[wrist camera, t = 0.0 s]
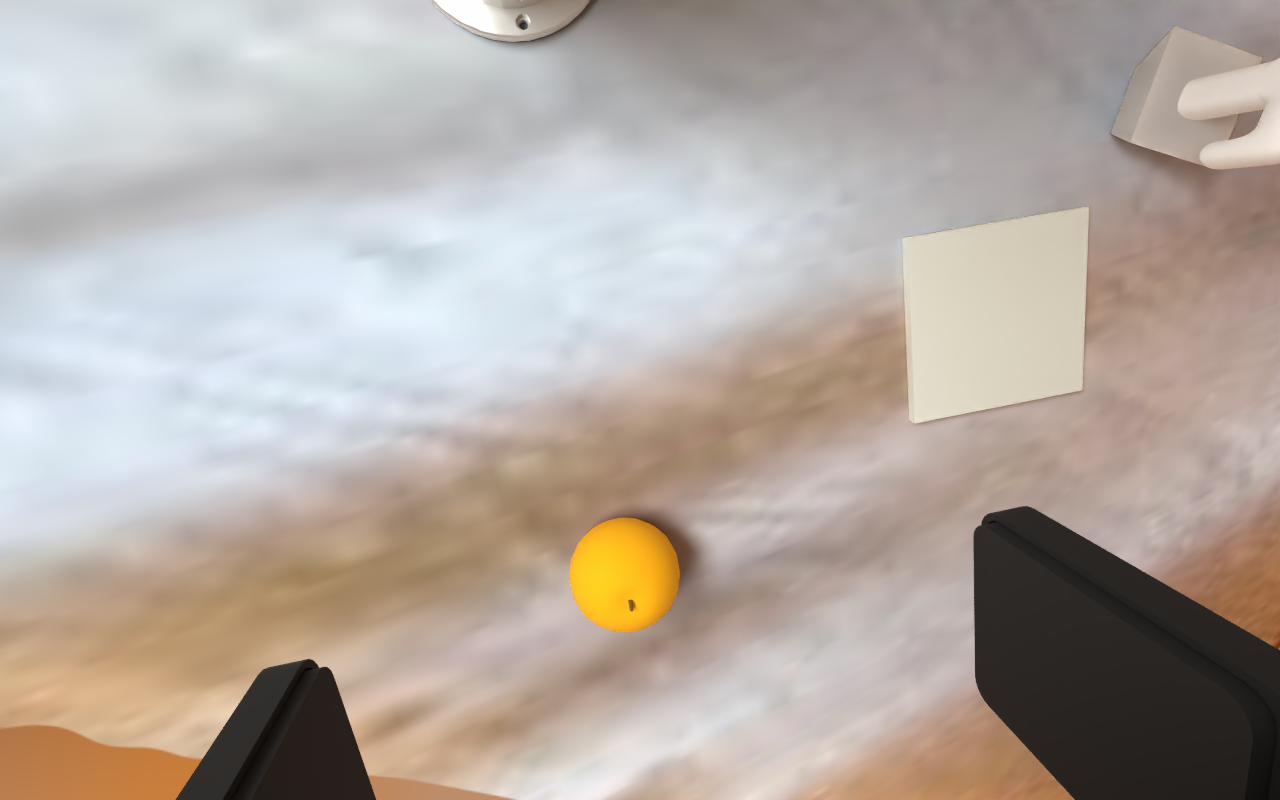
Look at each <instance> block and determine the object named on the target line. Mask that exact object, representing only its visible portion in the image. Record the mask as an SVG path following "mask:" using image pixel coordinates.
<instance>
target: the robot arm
mask: <svg viewBox="0 0 1280 800" xmlns="http://www.w3.org/2000/svg"><path fill="white" fill-rule="evenodd" d="M430 2H431V3H432V4H433V5H434V6H435V7H436V8H437V9H438V10H439V11H440V12H442V13H443V14H444V15H445V16H446V17H448V18H449V19H450V20H451V21H452V22H454V23H456V24H457V25H459V26H461V27H463V28H464V29H466V30H468V31H470V32H472V33H474V34H477V35H480V36H483V37H486V38H489V39H492V40H500V41H508V42H517V41H530V40H534V39H537V38H541V37H544V36H547V35H550V34H552V33H554V32H556V31H557V30H559V29H561V28H563V27H564V26H566V25H568V24H569V23H570V22H571V21H572V20H573V19H574V18H576V17H577V16H578V15H579V14H580V13H581V12H582V11H583V10H584V8H585V7H586V6H587V4H588V3H589V2H590V0H430ZM522 22H524V23H526V24H527V25H528V28H527V29H525V30H522V29H521V28H520V27H519V26H520V24H521V23H522ZM974 615H975V678H976V683H977V686H978V689H979V691H980V694H981V696H982V697H983V699H984V701H985V702H986V703H987V704H988V706H989V707H990V708H991V709H992V710H993V711H994V712H995V713H996V714H997V715H998V717H999V718H1000V719H1001V720H1002V721H1003V722H1004V723H1005V724H1006V725H1007V726H1008V727H1009V728H1010V730H1011V731H1012V732H1013V733H1014V734H1015V735H1016V736H1017V737H1018V738H1019V739H1020V740H1021V742H1022V743H1023V744H1024V745H1025V746H1026V747H1027V748H1028V749H1029V750H1030V751H1031V752H1032V753H1033V755H1034V756H1035V757H1036V758H1037V759H1038V760H1039V761H1040V762H1041V763H1042V764H1043V765H1044V767H1045V768H1046V769H1047V770H1048V771H1049V772H1050V773H1051V774H1052V775H1053V776H1054V777H1055V778H1056V780H1057V781H1058V782H1059V783H1060V784H1061V785H1062V786H1063V787H1064V788H1065V789H1066V790H1067V792H1068V793H1069V794H1070V795H1071V796H1072V797H1073V798H1074V799H1075V800H1280V650H1278V649H1276V648H1275V647H1273V646H1271V645H1270V644H1268V643H1266V642H1264V641H1263V640H1261V639H1259V638H1257V637H1256V636H1254V635H1252V634H1250V633H1249V632H1247V631H1245V630H1244V629H1242V628H1240V627H1238V626H1237V625H1235V624H1233V623H1231V622H1230V621H1228V620H1226V619H1224V618H1223V617H1221V616H1219V615H1217V614H1216V613H1214V612H1212V611H1211V610H1209V609H1207V608H1205V607H1204V606H1202V605H1200V604H1198V603H1197V602H1195V601H1193V600H1191V599H1190V598H1188V597H1186V596H1184V595H1183V594H1181V593H1179V592H1178V591H1176V590H1174V589H1172V588H1171V587H1169V586H1167V585H1165V584H1164V583H1162V582H1160V581H1158V580H1157V579H1155V578H1153V577H1152V576H1150V575H1148V574H1146V573H1145V572H1143V571H1141V570H1139V569H1138V568H1136V567H1134V566H1132V565H1131V564H1129V563H1127V562H1125V561H1124V560H1122V559H1120V558H1119V557H1117V556H1115V555H1113V554H1112V553H1110V552H1108V551H1106V550H1105V549H1103V548H1101V547H1099V546H1098V545H1096V544H1094V543H1092V542H1091V541H1089V540H1087V539H1086V538H1084V537H1082V536H1080V535H1079V534H1077V533H1075V532H1073V531H1072V530H1070V529H1068V528H1066V527H1065V526H1063V525H1061V524H1060V523H1058V522H1056V521H1054V520H1053V519H1051V518H1049V517H1047V516H1046V515H1044V514H1042V513H1040V512H1039V511H1037V510H1035V509H1033V508H1031V507H1028V506H1023V507H1017V508H1013V509H1008V510H1003V511H999V512H994V513H989V514H987V515H986V516H985V517H984V518H983V521H982V525H981V526H978V527H977V528H976V529H975V531H974ZM176 800H376V798H375V795H374V792H373V789H372V786H371V784H370V781H369V778H368V775H367V772H366V769H365V766H364V763H363V760H362V757H361V754H360V751H359V749H358V746H357V743H356V740H355V737H354V734H353V731H352V728H351V725H350V722H349V719H348V717H347V714H346V711H345V708H344V705H343V702H342V699H341V696H340V693H339V690H338V687H337V685H336V682H335V679H334V676H333V674H332V672H331V670H330V669H329V668H328V667H322V668H319V667H318V665H317V664H316V663H315V662H314V661H313V660H311V659H306V660H302V661H297V662H292V663H288V664H283V665H278V666H274V667H269V668H266V669H264V670H262V671H261V672H260V674H259V675H258V676H257V678H256V679H255V681H254V682H253V684H252V685H251V687H250V688H249V690H248V691H247V693H246V694H245V696H244V697H243V699H242V700H241V702H240V703H239V705H238V706H237V708H236V709H235V711H234V712H233V714H232V715H231V717H230V718H229V720H228V721H227V723H226V724H225V726H224V727H223V729H222V730H221V732H220V733H219V735H218V736H217V738H216V739H215V741H214V742H213V744H212V745H211V747H210V749H209V750H208V752H207V753H206V755H205V756H204V758H203V759H202V761H201V762H200V764H199V765H198V767H197V768H196V770H195V771H194V773H193V774H192V776H191V777H190V779H189V780H188V782H187V783H186V785H185V786H184V788H183V789H182V791H181V792H180V794H179V795H178V797H177V798H176Z"/></svg>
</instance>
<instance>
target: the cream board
mask: <svg viewBox="0 0 1280 800" xmlns="http://www.w3.org/2000/svg"><path fill="white" fill-rule="evenodd" d="M1088 225H1089V207H1079V208H1073V209H1067V210H1062V211H1056V212H1050V213H1044V214H1038V215H1032V216H1027V217H1021V218H1015V219H1009V220H1003V221H997V222H992V223H986V224H980V225H974V226H968V227H962V228H956V229H951V230H945V231H939V232H933V233H927V234H921V235H916V236H910V237H904V238H902V253H903V277H904V302H905V326H906V351H907V376H908V400H909V421H911V422H913V423H920V422H925V421H930V420H935V419H940V418H945V417H950V416H955V415H960V414H965V413H970V412H975V411H981V410H986V409H991V408H996V407H1001V406H1006V405H1011V404H1016V403H1021V402H1026V401H1031V400H1036V399H1041V398H1046V397H1051V396H1056V395H1061V394H1066V393H1071V392H1076V391H1081V390H1082V383H1083V357H1084V330H1085V304H1086V278H1087V251H1088Z"/></svg>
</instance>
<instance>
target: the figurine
mask: <svg viewBox="0 0 1280 800" xmlns="http://www.w3.org/2000/svg"><path fill="white" fill-rule="evenodd" d="M1262 59H1263V58H1261V57H1259V56H1256V55H1253V54H1250V53H1248V52H1245V51H1242V50H1239V49H1237V48H1234V47H1231V46H1228V45H1226V44H1223V43H1220V42H1217V41H1215V40H1212V39H1209V38H1206V37H1204V36H1201V35H1198V34H1195V33H1193V32H1190V31H1187V30H1184V29H1182V28H1179V27H1176V26H1174V27H1173V28H1172V29H1171V30H1170V31H1169V32H1168V34H1167V35H1166V36H1165V37H1164V38H1163V39H1162V40H1161V41H1160V42H1159V43H1158V44H1157V46H1156V47H1155V48H1154V49H1153V50H1152V51H1151V52H1150V53H1149V54H1148V55H1147V57H1146V58H1145V59H1144V60H1143V61H1142V62H1141V63H1140V64H1139V65H1138V66H1137V67H1136V69H1135V70H1134V72H1133V74H1132V77H1131V80H1130V82H1129V85H1128V88H1127V91H1126V93H1125V96H1124V99H1123V101H1122V104H1121V107H1120V109H1119V112H1118V115H1117V117H1116V120H1115V123H1114V125H1113V128H1112V131H1111V133H1110V134H1112V135H1114V136H1116V137H1119V138H1121V139H1123V140H1125V141H1128V142H1130V143H1133V144H1136V145H1139V146H1142V147H1145V148H1149V149H1152V150H1155V151H1158V152H1161V153H1164V154H1167V155H1171V156H1174V157H1177V158H1180V159H1183V160H1186V161H1189V162H1193V163H1196V164H1199V165H1202V166H1205V167H1208V168H1211V169H1215V170H1217V169H1218V170H1223V169H1234V168H1245V167H1256V166H1266V165H1274V164H1280V58H1278V59H1276V60H1275V61H1271V62H1267V63H1263V64H1261V61H1262ZM1258 110H1263V113H1262V115H1261V118H1260V120H1259V122H1258V125H1257V127H1256V128H1255V129H1254V130H1253V131H1252V132H1250V133H1249V134H1247V135H1245V136H1242V137H1239V138H1235V139H1231V140H1229V139H1230V136H1231V134H1232V131H1233V129H1234V126H1235V124H1236V122H1237V119H1238V117H1239V114H1241V113H1246V112H1252V111H1258Z"/></svg>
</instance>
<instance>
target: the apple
mask: <svg viewBox="0 0 1280 800" xmlns="http://www.w3.org/2000/svg"><path fill="white" fill-rule="evenodd" d="M569 580H570V584H571V589H572V593H573V597H574V600H575V601H576V603H577V605H578V606H579V608H580V609H581V611H582V612H583V614H584V615H585V616H586V617H587V618H588V619H590V620H591V621H592V622H594V623H595V624H597V625H598V626H600V627H603V628H606V629H609V630H612V631H615V632H633V631H637V630H641V629H644V628H646V627H648V626H650V625H652V624H654V623H656V622H657V621H658V620H659V619H660V618H661V617H662V616H663V615H664V614H665V613H666V612H667V611H668V610H669V609H670V607H671V605H672V603H673V601H674V599H675V597H676V595H677V593H678V586H679V580H680V570H679V564H678V559H677V554H676V552H675V550H674V548H673V546H672V545H671V543H670V541H669V540H668V538H667V536H666V535H665V534H663V533H662V532H661V531H660V530H658V529H657V528H656V527H655V526H653V525H652V524H649V523H647V522H644V521H641V520H639V519H636V518H622V517H620V518H616V519H612V520H607V521H604V522H603V523H601V524H599V525H597V526H595V527H594V528H592V529H591V530H590V531H589V532H588V533H587V534H586V535H585V536H584V537H583V538H582V539H581V540H580V541H579V543H578V545H577V548H576V550H575V552H574V554H573V556H572V559H571V566H570V577H569Z"/></svg>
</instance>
